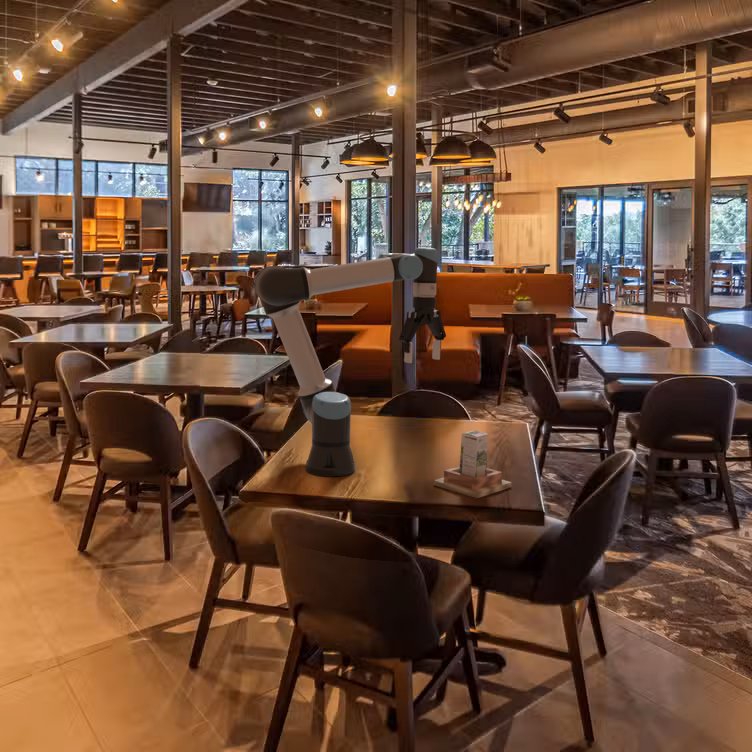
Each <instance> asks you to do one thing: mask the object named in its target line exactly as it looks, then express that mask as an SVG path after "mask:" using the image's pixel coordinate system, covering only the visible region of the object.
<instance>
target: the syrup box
mask: <svg viewBox="0 0 752 752" xmlns="http://www.w3.org/2000/svg"><path fill="white" fill-rule="evenodd" d="M460 440H461V445H460V456H459V458H460V459H459V466H460V472H459V473H461V474H465V475H468V476H472V477H475V478H476V477H479V476H483V475H486V468H487V465H488V464H487V463H488V451H489V434H488V433H486V432H483V431H479V430H470V431H467V432H466V431H465V432H463V433H461V439H460Z"/></svg>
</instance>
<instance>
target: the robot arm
mask: <svg viewBox="0 0 752 752" xmlns="http://www.w3.org/2000/svg"><path fill="white" fill-rule="evenodd" d="M438 254H439V253H438V250H437V249H436V248H433V247H429V248H428V247H416V248H415V249H414V252H413V253H394V252H393V253H391V252H385V253H383V252H382V253H380V254H379V255H378V257H377V258H375V259H370V260H369V259H367V260H362V261H356V262H350V263H344V264H337V265H331V266H325V267H318V268H313V269H312V268H311V269H308V268H306V267H297V268H296V267H295V268H292V267H291V268H287V267H282V266H279V265H269V266H266V267H263V268H262V269H261V270H260V271H259V272H258V273H257V274H256V276H255V279H254V283H253V288H254V293H255V295H256V296H257V297H258V298H259V301H260V303H261V306H262V308H263V311H264V312H265V315H266V316H267V317H270V318H272V321H273V322H274V325H275V327H276V329H277V332H278V334H279V337H280V340H281V342H282V344H283V347H284V350H285V352H286V355H287V357H288V360H289V363H290V365H291V367H292V370H293V373H294V375H295V377H296V380H297V382H298V385H299V389H298V392H297V395H298V398H299V400H300V403H301V406H302V407H301V408H302V411H303V414H304V416H305V418H306V419H307V420H308V422H309V423H311V425H312V428H311V447H310V448H311V449H310V451H309V454H308V457H307V460H306V462H305V471H306V472H307V473H309V474H311V475H314V476H320V477H342V476H348V475H351V474H353V473H354V472H355V471H356V463H355V460H354V456H353V453H352V448H351V413H352V412H351V411H352V405H351V399H350V397H349V396H348V395H346V394H344V393H340V392H337V391H336V389H335V385H334V384H333V381H332V380H331V379H329V378H327V377H326V376H325V373H324V371H323V368H322V366H321V363H320V361H319V357H318V355H317V353H316V350H315V347H314V346H313V345H314V344H313V343H312V339H311V337H310V334H309V332H308V330H307V326H306V324H305V322H304V320H303V316H302V314H301V311H300V309H299V308H300V306H301V303H302V302H303V301H308V300H310V299H311V298H312V296H316V295H322V294H327V293H328V294H329V293H333V292H340V291H345V290H352V289H356V288H363V287H369V286H373V285H374V286H375V285H380V284H386V283H392V282H398V281H399V282H400V281H405V280H406V281H411V280H413V287H412V294H413V295H414V296H413V297H412V307H413V309H414V311H407V312H406V319H405V322H404V324H403V325H402V326H403V327H402V329H401V333H400V335H399V338H398V340H399V341H401V342H402V343H403V352H404V358H403V361H404V363H408V364H412V363H413V347H414V346H413V344H414V343H413V342H412V341H413V339H414V337H415V335H416V334H417V332H418V330H419V329H420V328H421V327H422V326H427V327H428V329H429V330H430V332H431V334H432V336H433V338H434V339H432V354H431V355H432V356H431V357H432V358H431V359H433V360H437V361H439V360H440V359H441V350H442V349H441V348H442V341H444V340H445V338H446V337H447V334H446V331H445V327H444V326H445V325H444V324H443V321H442V316H441V315H442V314H441V310H438V309H436V307H437V298H436V297H435V296H436V295H437V281H438V280H437V278H438V265H439V262H438V261H439V258H438Z"/></svg>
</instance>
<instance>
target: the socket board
mask: <svg viewBox="0 0 752 752" xmlns="http://www.w3.org/2000/svg"><path fill="white" fill-rule="evenodd" d="M459 472H460V465H459V466H455V467H453V468H452V467H451V468H448V469H445V470H443V477H440V478H436V479H434V480H433V486H434V487H435V486H436V487H439V488H442V489H445V490H449V491H452V492H455V493H457V494H461V495H465V496H468V497H471V498H475V499H479V498H482V497H485V496H488V495H492V494H495V493H498V492H501V491H504V490H507V489H510V488H512V481H508V480H505V479H503V472H502V471H500V470H496V469H493V468H488V467H486V475H483V476H479V477H476V478H475V477H472V476H468V475H465V474H461V473H459Z"/></svg>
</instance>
